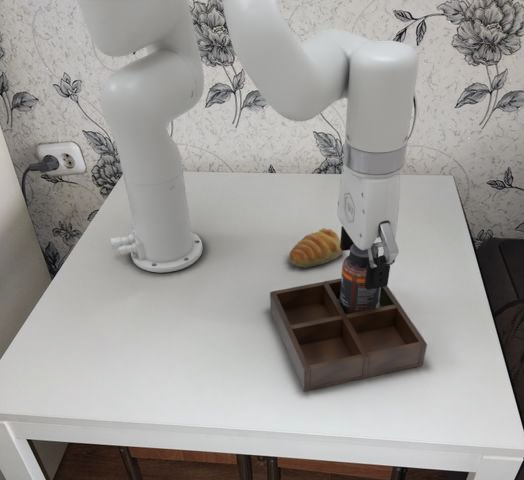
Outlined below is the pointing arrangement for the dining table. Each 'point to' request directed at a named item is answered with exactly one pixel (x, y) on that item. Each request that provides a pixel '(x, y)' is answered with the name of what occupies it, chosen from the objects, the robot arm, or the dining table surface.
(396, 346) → the grid
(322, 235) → the pastry
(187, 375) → the dining table surface
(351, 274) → the supplement bottle
